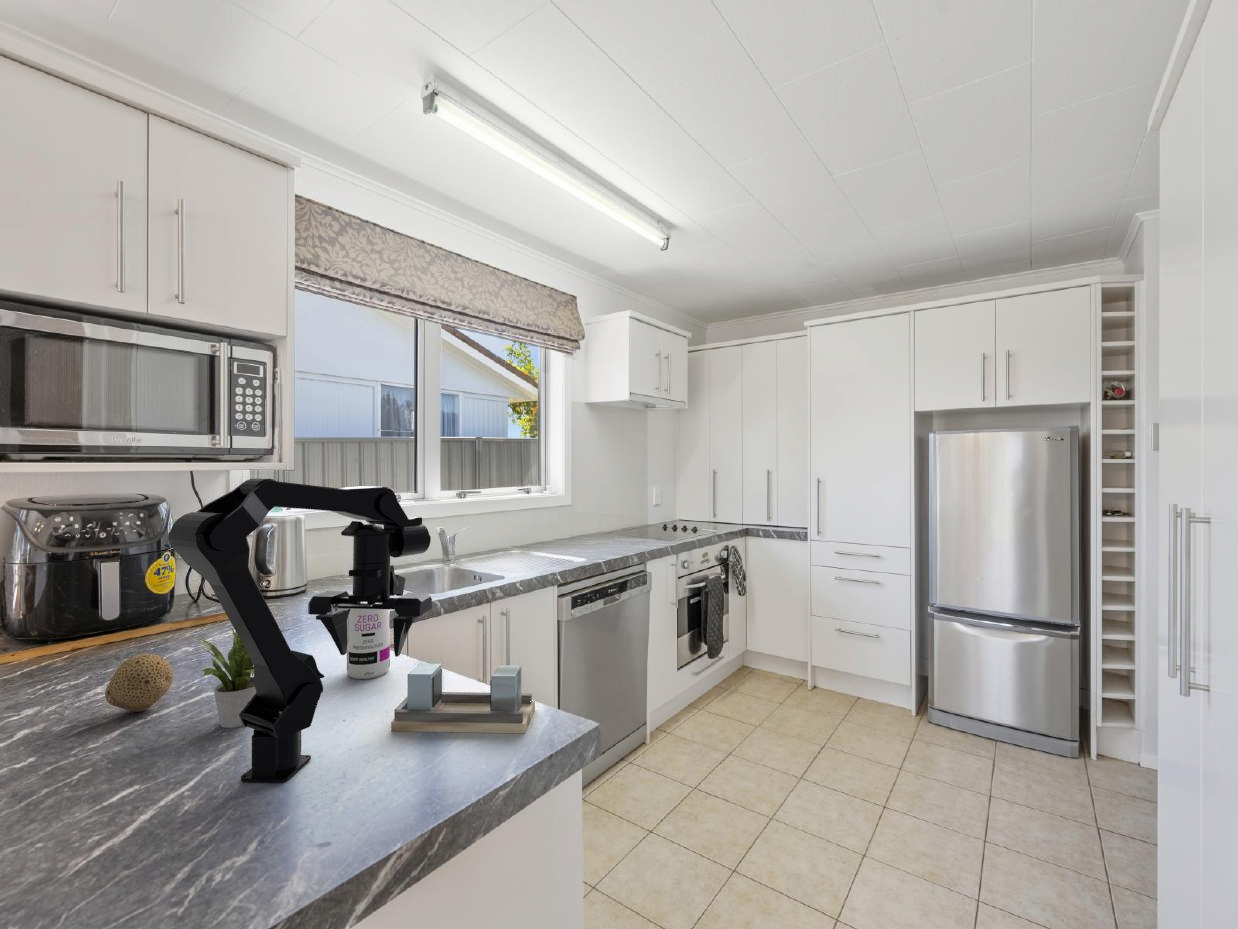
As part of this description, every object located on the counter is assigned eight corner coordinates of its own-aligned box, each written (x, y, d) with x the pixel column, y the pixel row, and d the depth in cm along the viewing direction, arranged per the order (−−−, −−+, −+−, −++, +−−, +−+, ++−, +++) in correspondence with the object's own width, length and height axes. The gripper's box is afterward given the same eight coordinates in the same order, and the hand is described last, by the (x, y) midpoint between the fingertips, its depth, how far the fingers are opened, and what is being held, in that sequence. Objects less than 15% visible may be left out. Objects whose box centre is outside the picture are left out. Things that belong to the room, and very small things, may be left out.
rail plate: (524, 733, 93) (524, 681, 93) (391, 731, 94) (391, 679, 94) (534, 709, 102) (534, 662, 102) (412, 707, 103) (412, 660, 103)
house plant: (310, 715, 99) (311, 621, 99) (222, 749, 87) (222, 642, 87) (265, 698, 107) (266, 610, 107) (178, 727, 95) (179, 629, 95)
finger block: (432, 716, 95) (433, 674, 95) (407, 716, 95) (407, 674, 96) (442, 703, 100) (443, 664, 100) (418, 703, 100) (418, 663, 100)
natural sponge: (182, 709, 102) (182, 653, 102) (117, 728, 94) (117, 667, 94) (162, 697, 107) (162, 644, 107) (100, 714, 100) (100, 657, 100)
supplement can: (377, 663, 125) (377, 595, 125) (397, 672, 120) (397, 600, 120) (339, 674, 119) (339, 601, 119) (358, 683, 114) (359, 608, 114)
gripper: (444, 555, 103) (443, 642, 103) (343, 553, 104) (342, 639, 104) (419, 565, 92) (417, 663, 92) (306, 563, 93) (305, 659, 93)
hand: (370, 655), depth 95 cm, fingers open, 9 cm apart
